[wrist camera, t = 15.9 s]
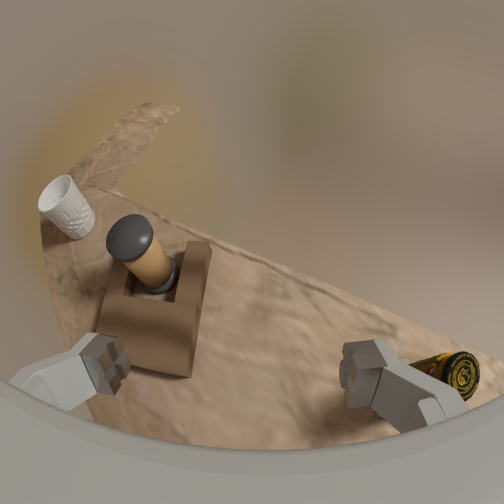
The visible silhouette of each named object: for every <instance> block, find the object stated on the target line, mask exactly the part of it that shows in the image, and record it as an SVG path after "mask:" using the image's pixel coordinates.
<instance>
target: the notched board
mask: <svg viewBox="0 0 504 504" xmlns="http://www.w3.org/2000/svg"><path fill="white" fill-rule="evenodd" d="M211 253H212V250H211V248H210V245H209V242H196V241H188V242H187V246H186V251H185V255H184V259H183V263H182V268H181V272H180V277H179V281H178V286H177V291H176V296H175V301H174V303H173V302H165V301H158V300H150V299H143V298H136V297H131V296H132V292H133V288H134V284H135V280H136V277H137V276H136V275H135V274H134V273H133V272H132V271H131V270H130V269H129V268H128V267H127V266H126V265H125V264H124V263H123V262H120V261H117V260H116V259H115V263H114V266H113V269H112V272H111V276H110V279H109V282H108V286H107V289H106V293H105V297H104V300H103V304H102V308H101V312H100V316H99V320H98V325H97V329H96V333H99V334H105V335H111V336H117V337H120V338H122V339H123V342H124V345H125V348H124V350H123V351H124V352H125V353H126V354H127V355H128V357H129V360H130V365H134V366H138V367H142V368H146V369H150V370H155V371H159V372H164V373H169V374H174V375H179V376H184V377H190V378H191V375H192V368H193V361H194V354H195V347H196V341H197V334H198V328H199V321H200V315H201V309H202V303H203V297H204V292H205V286H206V280H207V275H208V269H209V264H210V258H211Z"/></svg>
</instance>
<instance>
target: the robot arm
mask: <svg viewBox="0 0 504 504" xmlns="http://www.w3.org/2000/svg"><path fill="white" fill-rule="evenodd" d="M124 348H125V345H124V342H123V339H122V338H120V337H117V336H111V335H105V334H99V333H93V332H89V333H87V334H86V335H85V336H84V337H83V338H82V339H81V340H80V341H79V342H78V343H77V344H76V345H75V346H74V347H73V348H72V349H71V350H70V351H69V352H63V353H61V354H58V355H56V356H53V357H50V358H47V359H45V360H42V361H40V362H37V363H34V364H32V365H29V366H26V367H24V368H22V369H21V370H20V371H19V372H18V373H17V374H16V375H15V376H14V377H13V378H12V379H11V380H10V381H9V382H6V381H4V380H3V379H1V378H0V504H504V394H503V395H501V396H499V397H497V398H495V399H493V400H491V401H489V402H487V403H485V404H483V405H481V406H479V407H477V408H474V409H472V410H470V409H469V408H468V406H467V405H466V403H465V402H464V400H463V399H462V397H461V396H460V394H459V393H458V391H457V390H456V389H455V388H453V387H451V386H449V385H447V384H445V383H443V382H441V381H439V380H437V379H435V378H433V377H431V376H429V375H427V374H425V373H423V372H421V371H419V370H417V369H415V368H413V367H411V366H409V365H407V364H401V362H400V361H399V359H398V357H397V356H396V354H395V352H394V351H393V349H392V348H391V346H390V344H389V343H388V341H387V339H385V338H379V339H372V340H367V341H358V342H348V343H344V345H343V350H342V354H343V357H344V359H343V360H342V361H341V362H340V368H339V379H340V384H341V387H342V388H344V389H345V392H344V399H345V402H346V406H347V409H351V408H360V407H367V406H371V408H372V409H373V410H374V411H375V412H377V413H378V414H379V415H380V416H381V417H382V418H384V419H385V420H386V421H387V422H388V423H390V424H391V425H392V426H393V427H394V428H395V429H397V430H398V431H399V432H400V433H401V434H398V435H394V436H389V437H385V438H380V439H376V440H370V441H365V442H359V443H353V444H347V445H339V446H331V447H322V448H310V449H294V450H243V449H227V448H215V447H206V446H197V445H190V444H183V443H177V442H171V441H166V440H161V439H156V438H151V437H147V436H142V435H138V434H134V433H130V432H126V431H123V430H119V429H116V428H112V427H109V426H106V425H103V424H100V423H97V422H94V421H91V420H88V419H85V418H82V417H80V416H77V415H74V414H72V413H69V412H68V411H70V410H71V409H73V408H74V407H76V406H78V405H79V404H81V403H82V402H84V401H85V400H87V399H88V398H90V397H91V396H93V395H95V394H96V393H97V392H100V393H104V394H109V395H113V396H115V394H116V393H117V391H118V389H119V388H120V386H121V380H123V379H124V378H126V377H127V375H128V374H129V370H130V360H129V357H128V355H127V354H126V353H125V352H124V351H123V350H124Z"/></svg>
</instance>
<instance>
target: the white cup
mask: <svg viewBox="0 0 504 504" xmlns="http://www.w3.org/2000/svg"><path fill="white" fill-rule="evenodd" d="M38 209H39V210H40V211H41V212H42V213H43V214H44V215H45V216H46V217H47V218H48V219H49V220H50V221H51V222H52V223H53V224H55V225H56V226H57V227H58V228H59V229H60V230H62V231H63V232H65V233H66V234H67V235H68V236H69V237H70V238H71V239H75V240H78V239H81V238H83V237H84V236H86V235H87V234H88V233H89V232H90V231H91V229H92V228H93V226H94V223H95V213H94V212H93V211H92V209H91V208H90V206H89V205H88V202H87V201H86V199H85V198H84V196H83V195H82V193H81V192H80V190H79V189H78V187H77V186H76V184H75V183H74V181H73V179H72V178H71V176H69V175H62V176H60V177H58V178H56V179H54V180H53V181H52V182H51V183H50V184H49V185H48V186H47V187H46V188H45V189H44V191H43V192H42V194H41V196H40V198H39V201H38Z"/></svg>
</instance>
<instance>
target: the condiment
mask: <svg viewBox="0 0 504 504" xmlns="http://www.w3.org/2000/svg"><path fill="white" fill-rule="evenodd" d="M397 357H398V359H399V361H400V362H401V364H407V365H409V366H411V367H413V368H415V369H417V370H419V371H421V372H423V373H425V374H427V375H429V376H431V377H433V378H435V379H437V380H439V381H441V382H443V383H445V384H447V385H449V386H451V387H453V388H455V389H456V390H457V391H458V393H459V394H460V396H461V397H462V399H463V400H464V402H465V401H467V400H468V399H469V398H471V397H472V395H473V393H474V392H475V390H476V389H477V386H478V383H479V378H480V370H479V363H478V361H477V359H476V358H475V357H474V356H473V355H472V354H470V353H468V352H464V351H462V352H458V353H444V354H440V355H438V356H433V357H432V358H427V359H425V360H420V361H417V362H416V361H412V360H409V359H406V358H402V357H399V356H397ZM375 417H378V418H382V417H381V416H380V415H379V414H378V413H377V414H376V416H375ZM383 419H384V418H383Z"/></svg>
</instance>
